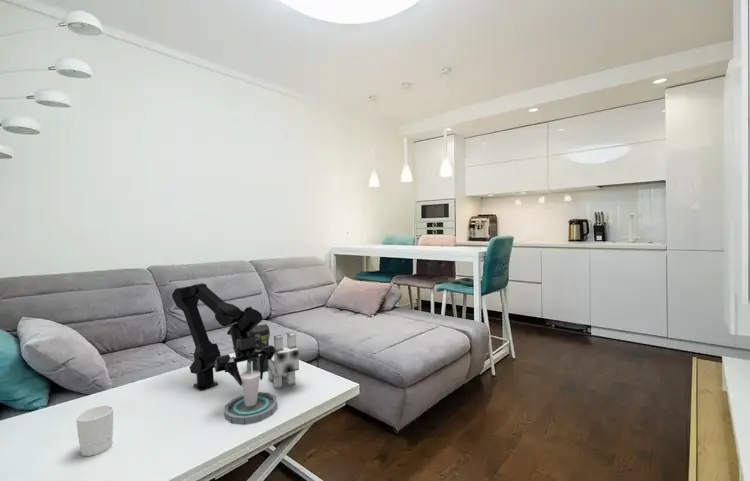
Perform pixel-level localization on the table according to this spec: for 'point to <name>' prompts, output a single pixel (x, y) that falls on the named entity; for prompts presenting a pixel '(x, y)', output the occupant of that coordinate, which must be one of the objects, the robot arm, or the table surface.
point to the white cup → (95, 430)
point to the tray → (250, 409)
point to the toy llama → (284, 361)
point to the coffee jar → (259, 345)
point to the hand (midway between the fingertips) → (251, 382)
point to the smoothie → (250, 386)
